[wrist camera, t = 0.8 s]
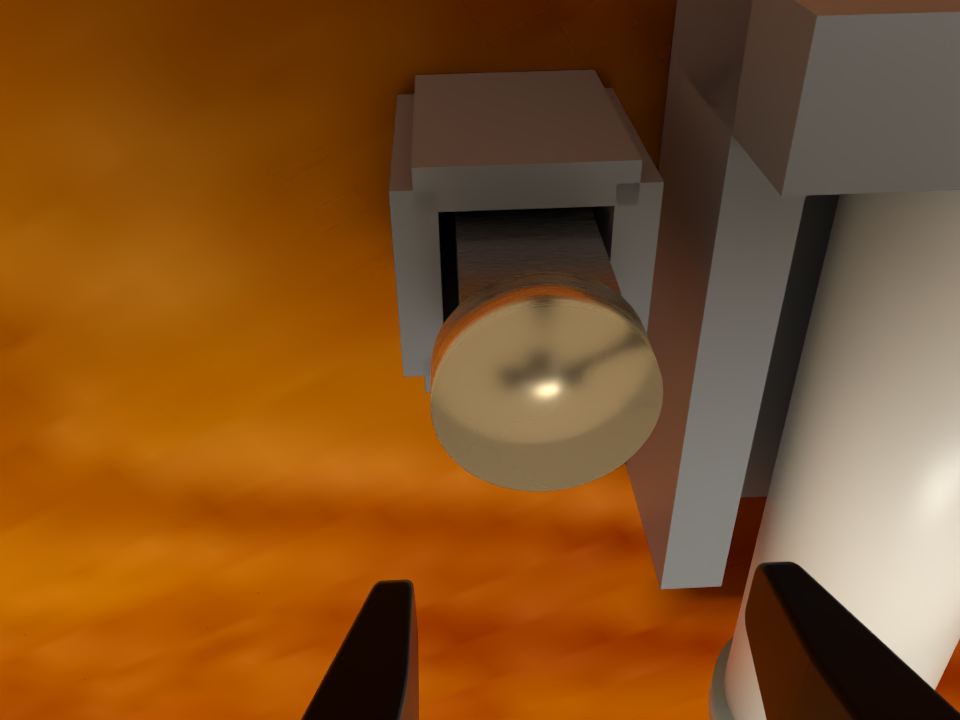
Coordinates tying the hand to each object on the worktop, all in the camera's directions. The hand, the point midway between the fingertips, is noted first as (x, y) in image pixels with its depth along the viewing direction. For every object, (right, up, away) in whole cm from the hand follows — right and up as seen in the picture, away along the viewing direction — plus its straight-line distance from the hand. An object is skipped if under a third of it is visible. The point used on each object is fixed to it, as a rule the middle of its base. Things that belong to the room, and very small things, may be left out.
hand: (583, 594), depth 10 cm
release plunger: (-1, +6, +8) cm, 10 cm away
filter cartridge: (+8, +1, +13) cm, 15 cm away
